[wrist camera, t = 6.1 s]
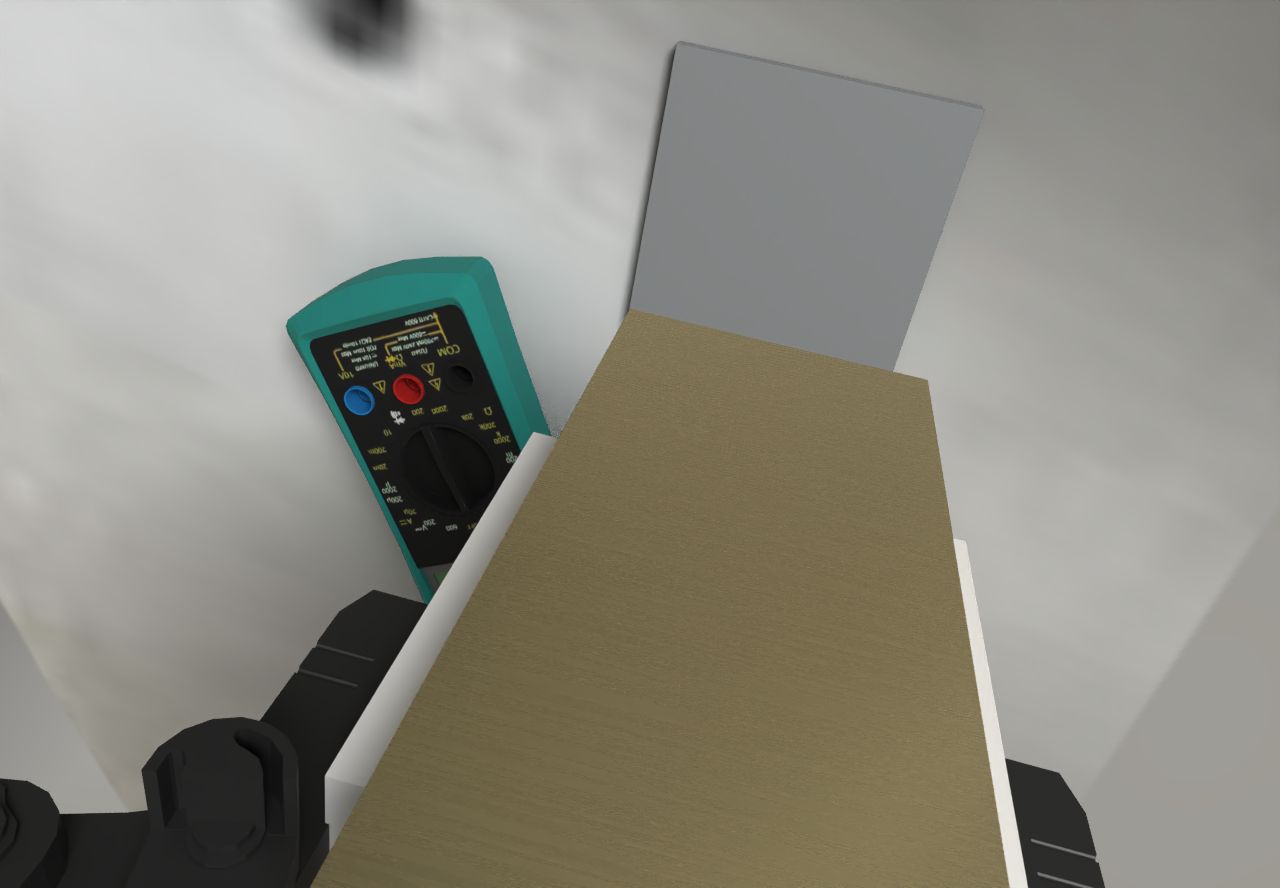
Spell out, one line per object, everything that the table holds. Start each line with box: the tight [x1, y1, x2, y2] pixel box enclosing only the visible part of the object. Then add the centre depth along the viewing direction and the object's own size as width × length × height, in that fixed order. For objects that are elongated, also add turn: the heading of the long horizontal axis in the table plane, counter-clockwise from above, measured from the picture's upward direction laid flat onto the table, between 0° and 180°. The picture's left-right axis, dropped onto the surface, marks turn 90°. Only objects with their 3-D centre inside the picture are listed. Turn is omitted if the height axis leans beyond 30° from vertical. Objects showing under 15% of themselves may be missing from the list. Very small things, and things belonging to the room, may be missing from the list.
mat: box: [629, 41, 984, 372], centre depth 30 cm, size 9×9×1 cm
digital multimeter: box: [286, 257, 551, 605], centre depth 34 cm, size 7×15×3 cm, turn 18°
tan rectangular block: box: [310, 309, 1010, 888], centre depth 12 cm, size 5×5×11 cm
